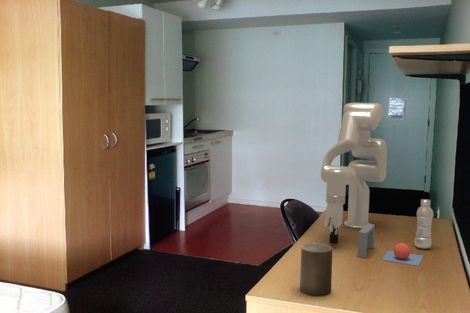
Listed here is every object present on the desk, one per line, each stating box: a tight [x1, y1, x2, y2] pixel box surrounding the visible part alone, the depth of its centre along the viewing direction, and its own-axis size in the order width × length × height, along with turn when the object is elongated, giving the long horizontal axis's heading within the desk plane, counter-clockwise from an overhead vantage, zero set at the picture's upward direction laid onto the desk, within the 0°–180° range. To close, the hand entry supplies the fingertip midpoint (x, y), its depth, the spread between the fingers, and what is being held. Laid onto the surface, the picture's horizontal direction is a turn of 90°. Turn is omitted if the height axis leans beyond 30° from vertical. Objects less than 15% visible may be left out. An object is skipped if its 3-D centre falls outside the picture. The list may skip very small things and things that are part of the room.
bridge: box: [356, 223, 376, 259], centre depth 186 cm, size 3×15×10 cm, turn 152°
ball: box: [393, 242, 411, 259], centre depth 179 cm, size 6×6×6 cm
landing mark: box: [381, 250, 424, 267], centre depth 180 cm, size 13×13×1 cm
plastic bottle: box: [414, 198, 434, 250], centre depth 192 cm, size 6×7×20 cm
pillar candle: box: [299, 242, 333, 297], centre depth 147 cm, size 10×10×15 cm
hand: (333, 243), depth 192 cm, fingers closed
